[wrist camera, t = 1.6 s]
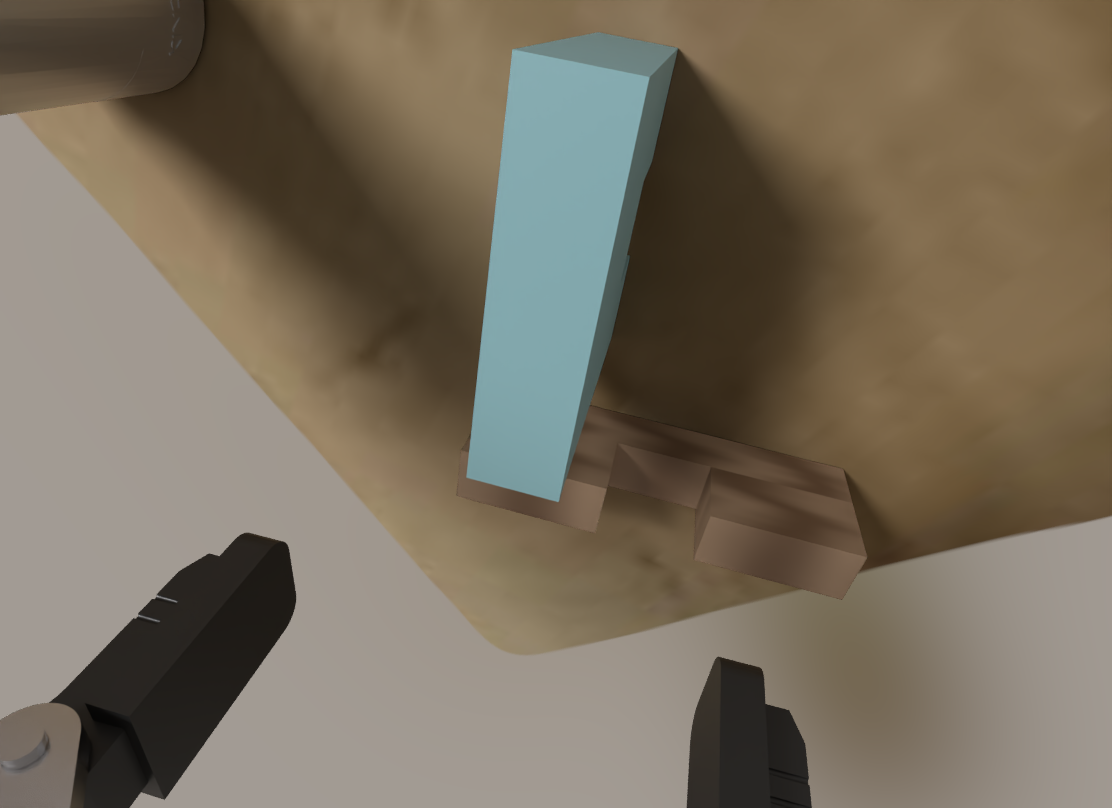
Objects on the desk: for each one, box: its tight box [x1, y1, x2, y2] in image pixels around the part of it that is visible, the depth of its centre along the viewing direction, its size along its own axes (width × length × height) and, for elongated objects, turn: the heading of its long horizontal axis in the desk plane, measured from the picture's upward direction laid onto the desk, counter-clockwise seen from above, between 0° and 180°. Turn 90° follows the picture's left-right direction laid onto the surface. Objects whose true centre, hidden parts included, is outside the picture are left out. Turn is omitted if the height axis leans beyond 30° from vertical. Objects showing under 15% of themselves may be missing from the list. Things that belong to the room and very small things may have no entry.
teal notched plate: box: [466, 32, 678, 502], centre depth 26 cm, size 14×4×14 cm, turn 170°
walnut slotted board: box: [457, 406, 867, 600], centre depth 35 cm, size 20×3×7 cm, turn 80°
